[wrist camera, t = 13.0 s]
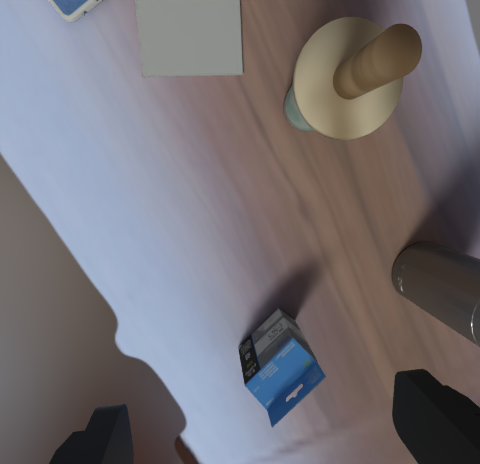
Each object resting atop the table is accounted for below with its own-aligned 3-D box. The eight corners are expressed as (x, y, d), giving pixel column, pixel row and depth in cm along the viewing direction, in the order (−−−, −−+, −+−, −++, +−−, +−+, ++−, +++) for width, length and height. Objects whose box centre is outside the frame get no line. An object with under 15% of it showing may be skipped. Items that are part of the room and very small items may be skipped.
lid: (401, 21, 27) (478, -36, 19) (394, 137, 29) (460, 127, 21) (292, 20, 26) (327, -40, 18) (292, 141, 28) (324, 132, 21)
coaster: (237, -38, 35) (237, -41, 34) (242, 75, 37) (242, 74, 37) (131, -40, 34) (130, -42, 33) (143, 77, 36) (143, 75, 36)
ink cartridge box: (278, 305, 45) (304, 356, 33) (295, 320, 46) (327, 375, 34) (237, 346, 45) (248, 411, 33) (255, 361, 46) (272, 429, 34)
